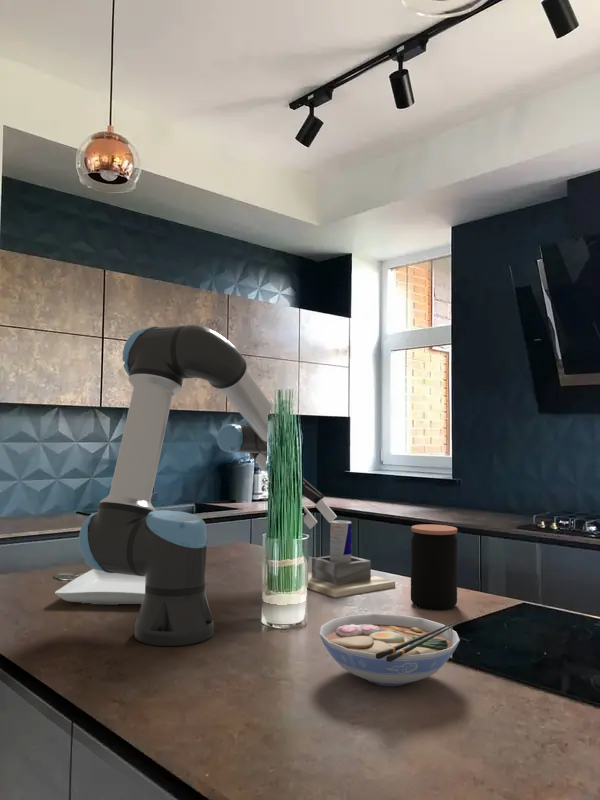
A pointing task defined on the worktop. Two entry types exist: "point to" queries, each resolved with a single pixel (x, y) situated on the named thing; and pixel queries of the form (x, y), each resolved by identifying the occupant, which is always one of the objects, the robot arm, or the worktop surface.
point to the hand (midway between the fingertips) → (324, 522)
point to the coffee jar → (434, 567)
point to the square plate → (104, 588)
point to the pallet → (344, 577)
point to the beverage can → (340, 541)
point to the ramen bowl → (389, 646)
